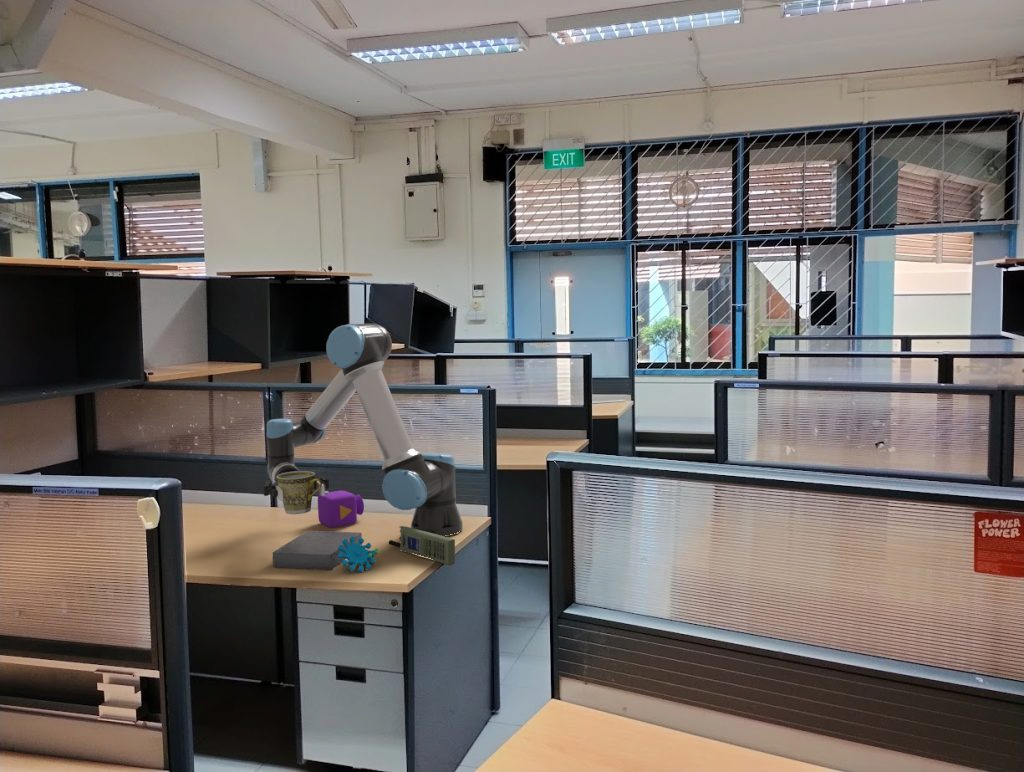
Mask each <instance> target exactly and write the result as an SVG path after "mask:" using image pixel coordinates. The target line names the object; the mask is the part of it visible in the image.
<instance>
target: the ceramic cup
mask: <svg viewBox="0 0 1024 772" xmlns="http://www.w3.org/2000/svg"><path fill="white" fill-rule="evenodd" d="M315 475H316V472H314V471H309V470H300V471H293V472H286V473H282V474H279V475H277V482H278V486H279V487H280V488H281V489H282V490H283V501H282V505H283V508H284V512H285V513H286V514H287V515H301V514H306V513H309V512H311V510H312V502H313V501H312V500H313V496H315V494H316V493H318V492H317V491H318V490H319V489H320V488H321V487H322V482H321V480H320V479H318V478H315ZM315 481H319V483H320V487H319V488H318V489H315V490H314V489H313V488H314V482H315Z"/></svg>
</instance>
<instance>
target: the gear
mask: <svg viewBox="0 0 1024 772" xmlns="http://www.w3.org/2000/svg"><path fill="white" fill-rule="evenodd" d="M355 539H356V538H355V537H351V538H350V542H351V545H348V544H347V543H348V540H347V539H344V540H343V541H342V543H343V544H344V545H345V547H346V549H344V547H343V545H340V546H339V547H338V550H339V551H342V552H344V553H345V555H344V554H343V553H341V552H339V554H338V558H345V559H346V560H343V561H342V563H341V565H342V566H343V567H346V566H347V565H348V570H350V571H351V572H354V571H355V570H356V566H359V567H358V569H357V572H358V573H363V572H364V571H365V570H366V569H369V570H370V568H371V569H372V568H373V567H372V565H373V564H374V563H375V562H376V558H375V556H377V554H378V553H379V549H378V548H375V549H371V548H372V545H371V543H370V542H367V543H365V544H364V542H365V540H364V539H365V538H363V537H362V538H360V539H359V540H358V543H357V544H354V543H353V542H354V541H355ZM360 544H362V545H360ZM363 544H364V545H363ZM370 549H371V550H370ZM364 564H365V568H364ZM362 571H363V572H362Z"/></svg>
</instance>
